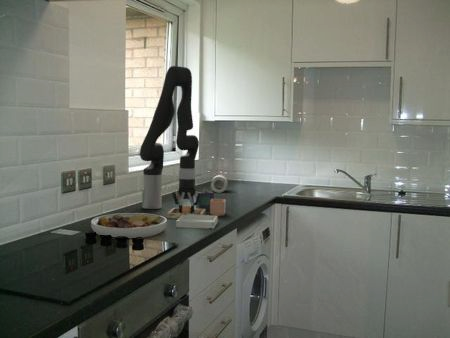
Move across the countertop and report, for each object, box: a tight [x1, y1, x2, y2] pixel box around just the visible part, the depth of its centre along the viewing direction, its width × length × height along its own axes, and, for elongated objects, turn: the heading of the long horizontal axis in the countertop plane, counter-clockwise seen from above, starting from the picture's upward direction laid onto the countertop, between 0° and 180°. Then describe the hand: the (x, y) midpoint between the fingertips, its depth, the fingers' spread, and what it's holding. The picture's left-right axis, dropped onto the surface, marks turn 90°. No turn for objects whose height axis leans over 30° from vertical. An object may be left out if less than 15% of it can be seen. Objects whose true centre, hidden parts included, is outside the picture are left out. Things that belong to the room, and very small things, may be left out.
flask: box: [195, 188, 215, 211], centre depth 249 cm, size 9×3×11 cm, turn 109°
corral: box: [166, 207, 207, 219], centre depth 233 cm, size 16×14×2 cm
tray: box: [175, 214, 219, 230], centre depth 214 cm, size 16×14×3 cm
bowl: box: [90, 212, 168, 239], centre depth 199 cm, size 30×30×8 cm
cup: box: [209, 198, 226, 217], centre depth 237 cm, size 7×7×7 cm
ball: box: [182, 204, 191, 214], centre depth 233 cm, size 4×4×4 cm
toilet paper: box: [210, 174, 228, 194], centre depth 312 cm, size 10×10×10 cm
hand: (186, 213), depth 233 cm, fingers closed on ball, 4 cm apart
